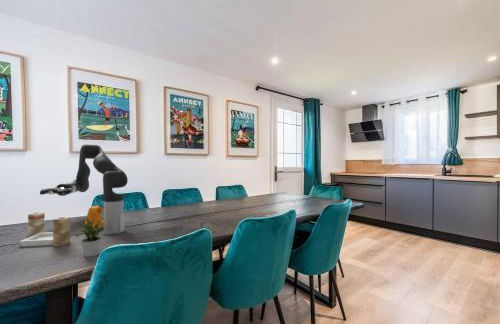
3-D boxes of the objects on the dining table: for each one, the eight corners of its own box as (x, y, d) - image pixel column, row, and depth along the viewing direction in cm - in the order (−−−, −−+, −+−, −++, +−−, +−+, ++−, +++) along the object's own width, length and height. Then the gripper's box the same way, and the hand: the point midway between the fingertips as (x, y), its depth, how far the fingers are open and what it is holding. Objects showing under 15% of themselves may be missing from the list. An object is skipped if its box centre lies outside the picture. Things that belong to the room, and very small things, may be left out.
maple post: (44, 233, 124) (44, 212, 124) (38, 235, 119) (38, 214, 119) (34, 233, 123) (34, 212, 123) (27, 236, 118) (28, 214, 118)
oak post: (70, 242, 110) (70, 216, 110) (64, 245, 105) (64, 219, 105) (59, 242, 109) (59, 217, 109) (53, 246, 104) (53, 219, 104)
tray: (69, 236, 119) (69, 231, 119) (52, 245, 106) (52, 239, 106) (40, 237, 117) (40, 232, 117) (19, 246, 104) (19, 241, 104)
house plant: (56, 261, 89) (56, 218, 89) (84, 248, 103) (84, 211, 103) (92, 262, 88) (92, 219, 88) (115, 248, 102) (115, 211, 102)
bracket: (95, 229, 131) (95, 208, 131) (84, 228, 132) (84, 207, 132) (109, 224, 142) (110, 204, 142) (99, 223, 143) (99, 204, 143)
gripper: (53, 183, 146) (35, 186, 130) (78, 183, 148) (63, 186, 133) (53, 194, 146) (34, 199, 130) (78, 194, 149) (63, 199, 133)
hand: (49, 192), depth 131 cm, fingers open, 8 cm apart
